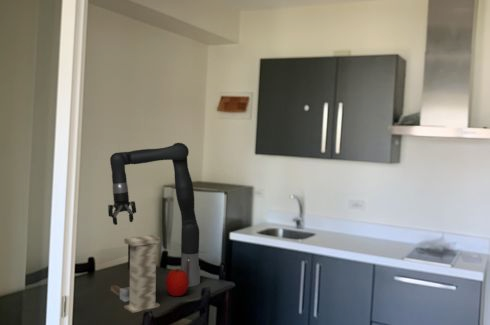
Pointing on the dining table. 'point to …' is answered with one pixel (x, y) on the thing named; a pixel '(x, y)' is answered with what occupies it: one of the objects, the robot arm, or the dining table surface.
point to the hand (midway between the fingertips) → (123, 223)
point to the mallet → (121, 292)
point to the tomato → (177, 282)
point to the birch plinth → (142, 273)
